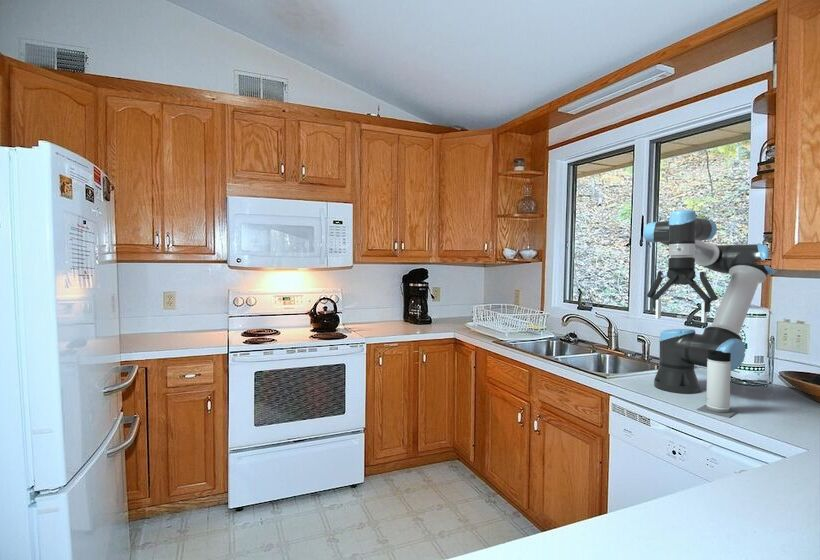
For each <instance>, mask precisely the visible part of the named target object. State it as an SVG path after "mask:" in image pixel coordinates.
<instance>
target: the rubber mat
mask: <svg viewBox="0 0 820 560" xmlns="http://www.w3.org/2000/svg"><path fill="white" fill-rule="evenodd" d="M696 410H697V412H698V411H699V412H704V413H707V414H708V413H709V414H711V415H716V416H719V417H720V416H721V417H725V418H731V417H733V416H734V415H737V413H739V411H738V410H734V409H730V411H729V412H728V413H718V412H713V411H710V410H708V409H707V408H706V404H704V405H702V406H700V407H698V408H697V409H696Z"/></svg>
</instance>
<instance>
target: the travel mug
mask: <svg viewBox="0 0 820 560" xmlns="http://www.w3.org/2000/svg"><path fill="white" fill-rule="evenodd" d="M730 358H731V353H728V352H727V353H725V352H722V351H716V350H708V358H707V360H708V361H707V367H706V397H705V399H706V401H705V402H706V403H705V405H706V408H707V409H708V410H710V411H713V412H718V413H728V412H729V411H730V410H731V409H730V406H731V405H730V404H731V372H732V371H731V359H730Z"/></svg>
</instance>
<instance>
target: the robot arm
mask: <svg viewBox="0 0 820 560" xmlns="http://www.w3.org/2000/svg"><path fill="white" fill-rule="evenodd" d="M668 219H669V220H664V221H662V220H661V221H654V222H649V223H647V224H645V226H644V227H643V232H642V233H643V238H644V240H645V241H646V242H648V243H654V244H655V243H660V244H663V245H664V246H667V247H668V256H669V258H668V263H667V264H668V265H667V266H668V269H667V272H666V271H663V270H659V271H657V277H656V278H655V280H654V282H653V284H652V285H651V288H650V289H649V291H648V293H647V295H646V297H647V298H651V299H652V308H653V309H654V310H655V320H657V319H661V318H662V299H660V298H661V297H662V296H663V294H665V293H666V292H667V291H668V289H670V288H671V287H672V286H673V285H674V286H675V285H676V286H677V285H682V286H686V285H689V286H690V287H691V288H692V289H693V290H694V291H695V292H696V294H697V295H698V296H699V297H700V298H701V299H702V300H703V301H702V302H701V312H700V319H701V320H700V322H701V323H707V319H708V318H707V316H708V315H707V314H708V313H710V312H711V303H712V302H714V301H718V300H719V299H718V296H717V294H716V292H715V291H714V289H713V286H711V283H710V282H709V279H708V276H707V272H706V271H699V272H696V271H695V268H696V267H695V266H696V265H695V264H697V265H699V266H701V267H703V268H705V269H708V270H710V271H713V272H716V273H721V274H729V276H730V280H729V282H728V284H727V287H726V289H725V292H724V294H723V296H722V299H721V301H720V304H719V307H718V309H717V311H716V313H715V315H714V319H713V321H712V323H711V325H709V326H706V327H705V328H704V331H703V332H702V334H700V333H699V334H698V333H696V330H695V329H694V328H675V329H674V328H673V329H664V330H662V331H660V334H659V365H658V366H659V367H658V369H657V371H656V374H655V377H654V379H653V387H655V388H657V389H659V390H662V391H666V392H670V393H677V394H696V393H699V392H700V382H699V380H698V377H697V374H696V371H695V366H697V367H698V366H699V367H703V368H707V361H708V360H707V358H708V350H716V351H722V352H725V353H727V352H728V353H731V358H730V359H731V372H732V371H734V370H736V369H738V368H739V367H740V366H741V365H742V364H743V362H744V360H745V356H746V349H747V348H746V344H745V343H744V341H743V337H742V336H741V335H740V332H741V330H742V327H743V324H744V322H745V320H746V317H747V315H748V311H749V309H750V307H751V304H752V302H753V299H754V297H755V294H756V291H757V289H758V286H759V284H761V283H764V282H765V281H766V280H767V277H768V275H770V276H771V275H775V274H776V273H777V272H778V270H774V269H771V267H770V266H765V265H757V263H754V262H752V261H759V260H765V259H768V258H769V249H768V247H767V246H765V245H763V244H764V243H754V244H725V245H721V244H719V245H717V244H715V243H711V242H705V241H708V240H711V239H713V238H714V237H715V236H716V235H717V231H718V227H717V224H716V223H715V222H714V220H712V219H710V218H705V217H702V218H701V217H697V213H696V211H695V210H694V209H681V210H674V211H672V212H670V213H669V218H668ZM750 262H751V263H750ZM666 277H667V278H668V280H667V281H666V282H665V284H664V285H662V287H661V288H660V289H659V290H658V288H659V287H660V285H661V284H662V282H663V279H664V278H666ZM696 277H697V278H698V279H699V280H700V282H701V284H702V285H703V288H704V289H705V291H706V292H707V294H706V292H705V291H704V290H703V289H702V288H701V287H700V286H699V285H698V284H697V282H696V280H694V279H695V278H696ZM657 290H658V291H657Z"/></svg>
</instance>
